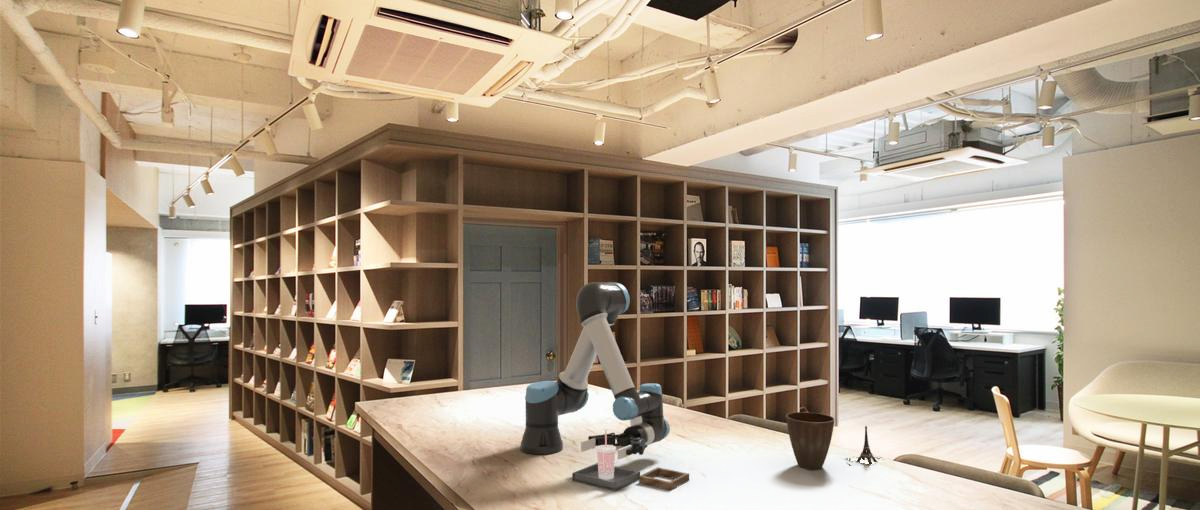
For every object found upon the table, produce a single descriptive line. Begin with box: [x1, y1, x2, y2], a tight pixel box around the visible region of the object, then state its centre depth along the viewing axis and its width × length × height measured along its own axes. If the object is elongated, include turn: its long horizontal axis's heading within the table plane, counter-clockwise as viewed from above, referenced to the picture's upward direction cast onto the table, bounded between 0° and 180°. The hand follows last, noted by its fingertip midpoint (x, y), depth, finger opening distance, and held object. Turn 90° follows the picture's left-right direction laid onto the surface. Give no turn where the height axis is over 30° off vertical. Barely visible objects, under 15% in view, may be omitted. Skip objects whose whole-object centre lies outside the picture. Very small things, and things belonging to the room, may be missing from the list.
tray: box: [571, 462, 641, 492], centre depth 188 cm, size 16×13×2 cm
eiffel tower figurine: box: [845, 425, 883, 464], centre depth 207 cm, size 15×10×13 cm
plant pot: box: [785, 411, 835, 471], centre depth 202 cm, size 15×15×16 cm
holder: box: [638, 466, 690, 491], centre depth 186 cm, size 11×11×2 cm
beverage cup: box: [595, 429, 617, 480], centre depth 188 cm, size 6×6×14 cm
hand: (599, 450), depth 186 cm, fingers open, 13 cm apart
